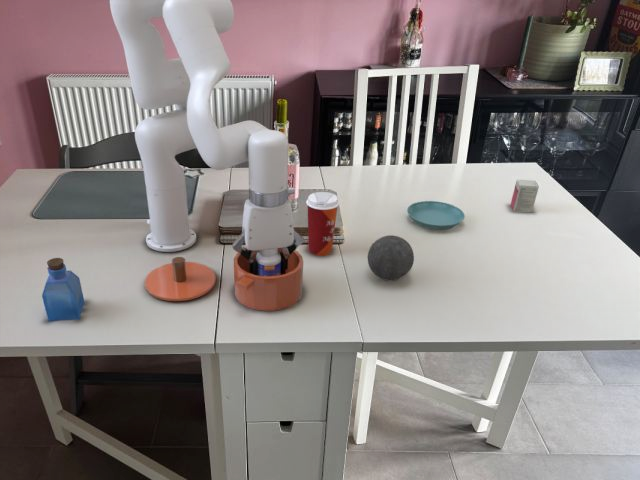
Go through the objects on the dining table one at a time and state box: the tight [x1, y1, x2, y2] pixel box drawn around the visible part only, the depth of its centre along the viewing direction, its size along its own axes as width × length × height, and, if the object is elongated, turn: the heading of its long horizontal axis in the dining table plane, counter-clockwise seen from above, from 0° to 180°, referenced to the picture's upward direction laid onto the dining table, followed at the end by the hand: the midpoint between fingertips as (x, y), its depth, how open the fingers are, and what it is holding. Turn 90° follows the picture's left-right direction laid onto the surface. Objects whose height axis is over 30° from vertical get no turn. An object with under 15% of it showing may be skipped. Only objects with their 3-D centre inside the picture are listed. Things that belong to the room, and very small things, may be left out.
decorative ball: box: [367, 234, 415, 281], centre depth 126 cm, size 10×10×10 cm
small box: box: [509, 179, 540, 213], centre depth 156 cm, size 5×4×8 cm
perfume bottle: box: [41, 257, 85, 322], centre depth 115 cm, size 6×6×12 cm
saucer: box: [406, 200, 466, 231], centre depth 151 cm, size 15×15×3 cm
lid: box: [144, 256, 217, 302], centre depth 125 cm, size 16×16×6 cm
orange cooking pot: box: [233, 247, 304, 312], centre depth 122 cm, size 15×20×8 cm
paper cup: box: [305, 191, 340, 257], centre depth 136 cm, size 8×8×14 cm
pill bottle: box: [256, 248, 281, 276], centre depth 120 cm, size 5×5×10 cm
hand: (268, 273), depth 121 cm, fingers closed on pill bottle, 5 cm apart
